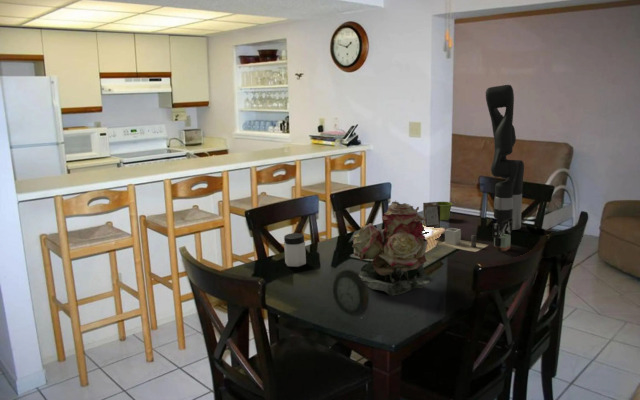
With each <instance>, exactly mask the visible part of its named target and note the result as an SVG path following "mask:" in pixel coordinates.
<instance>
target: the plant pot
mask: <svg viewBox="0 0 640 400" xmlns="http://www.w3.org/2000/svg"><path fill="white" fill-rule="evenodd" d="M436 202H437V203H438V204H439V205H440V222H441V221H449V220H450V213H451V208H452V205H453V202H450V201H436Z"/></svg>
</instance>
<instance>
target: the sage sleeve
mask: <svg viewBox="0 0 640 400" xmlns="http://www.w3.org/2000/svg"><path fill="white" fill-rule="evenodd" d="M499 234H500V233H499ZM511 237H512V236H511V234H510V235H509V234H504V233H503V234H502V235H501V246H500V247H498V251H502V252H507V251H508V250H510V249H511V241H512V240H511V239H512V238H511ZM493 247H495V248H497V247H496V246H495V238H494V237H493Z"/></svg>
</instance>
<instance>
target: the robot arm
mask: <svg viewBox="0 0 640 400" xmlns="http://www.w3.org/2000/svg"><path fill="white" fill-rule="evenodd" d="M485 101H486V105H487V108H488V112H489V117H490V121H491V127H492V134H493V135H492V136H493V140H494V141H493V142H494V153H493V154H494V155H493V159H492V163H491V167H490V171H491V174H492V176H493V177H494V178H502V179H504V181H499V182H497V183H496V184H495V186H494V190H495V191H494V199H493V219H496V223H492V232H491V233H492V234H491V236H492V238H493V239H494V238H495V246H496V247H495V248H499V247H500V246H501V235H502V234H509V235H511V233H512V232H513V231H515V230H516V231H517V230H520V229H521V228H522V208H523V206H522V205H523V185H524V173H525V164H524V161H523V160H520V159H508V158H507V156H509V155H512V154H513V147H514V145H515V144H516V142H517V135H516V130H515V126H514V125H513V122H514V104H515V94H514V89H513V86H512V85H510V84H505V85H504V84H503V85H497V86H491V87H490V86H489V87H488V88H486V90H485ZM501 108H505V112H504V115H503V114H501V112H500V110H499V109H501ZM499 233H500V234H499Z"/></svg>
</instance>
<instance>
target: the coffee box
mask: <svg viewBox="0 0 640 400" xmlns="http://www.w3.org/2000/svg"><path fill="white" fill-rule="evenodd" d="M437 202H438V201H432V202H431V201H430V202H423V203H422V217H425V219H426V221H425V220H422V224H423V225H424V226H426V227H434V228H440V229H441V220H440V205H439V204H438V203H437ZM423 225H422V226H423Z"/></svg>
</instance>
